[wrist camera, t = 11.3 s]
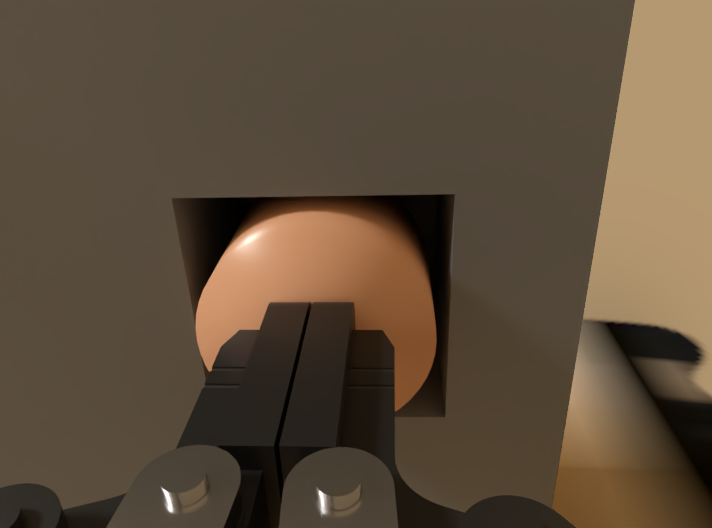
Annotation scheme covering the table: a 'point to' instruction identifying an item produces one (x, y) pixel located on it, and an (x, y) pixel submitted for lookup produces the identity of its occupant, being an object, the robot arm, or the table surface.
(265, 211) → the terracotta button
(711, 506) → the table surface
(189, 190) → the button console
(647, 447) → the table surface
